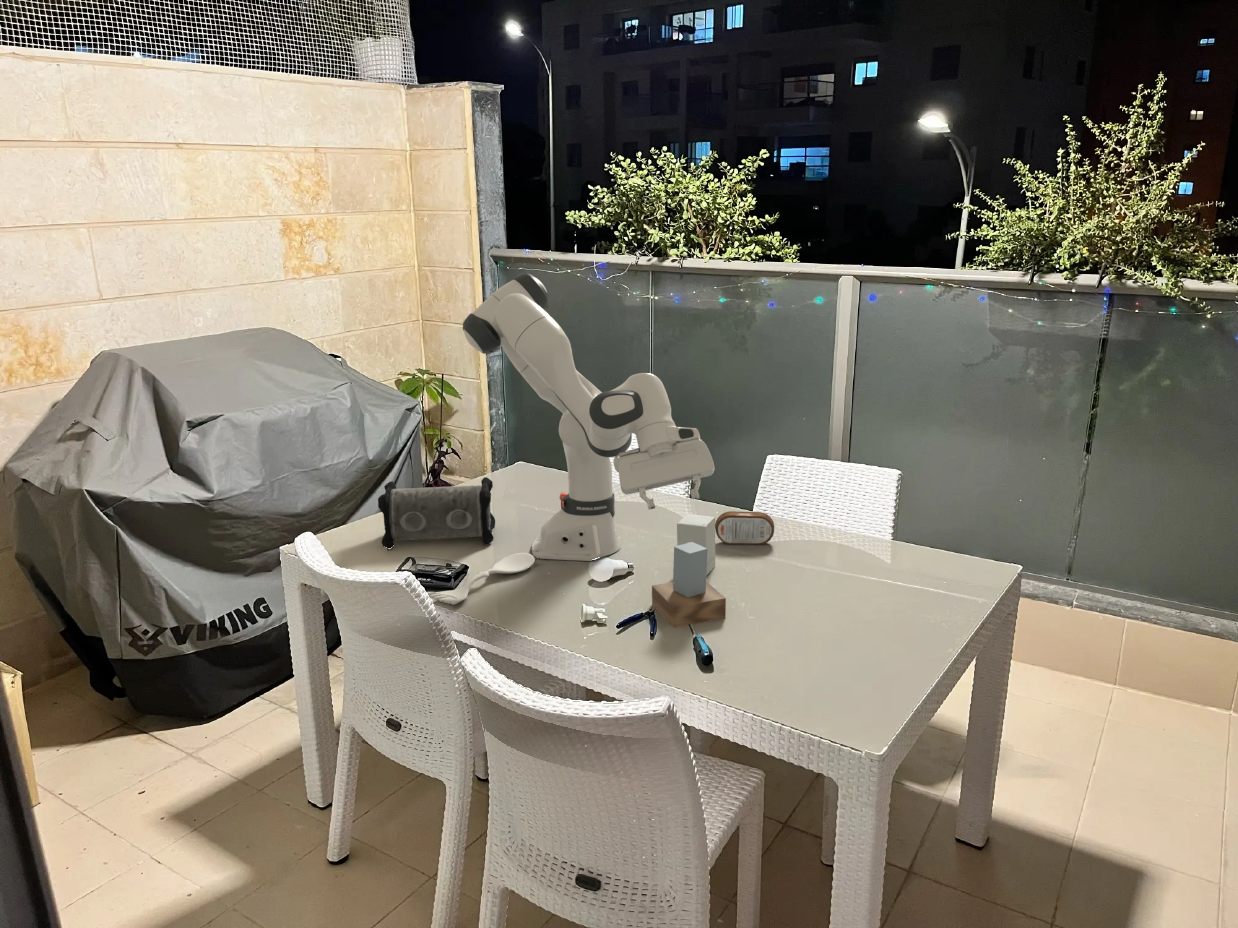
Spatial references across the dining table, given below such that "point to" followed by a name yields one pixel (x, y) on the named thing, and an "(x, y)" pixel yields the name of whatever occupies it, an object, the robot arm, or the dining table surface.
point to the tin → (744, 528)
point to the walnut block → (688, 605)
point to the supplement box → (698, 534)
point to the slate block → (690, 569)
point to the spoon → (504, 565)
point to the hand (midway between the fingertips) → (673, 503)
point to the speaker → (437, 512)
